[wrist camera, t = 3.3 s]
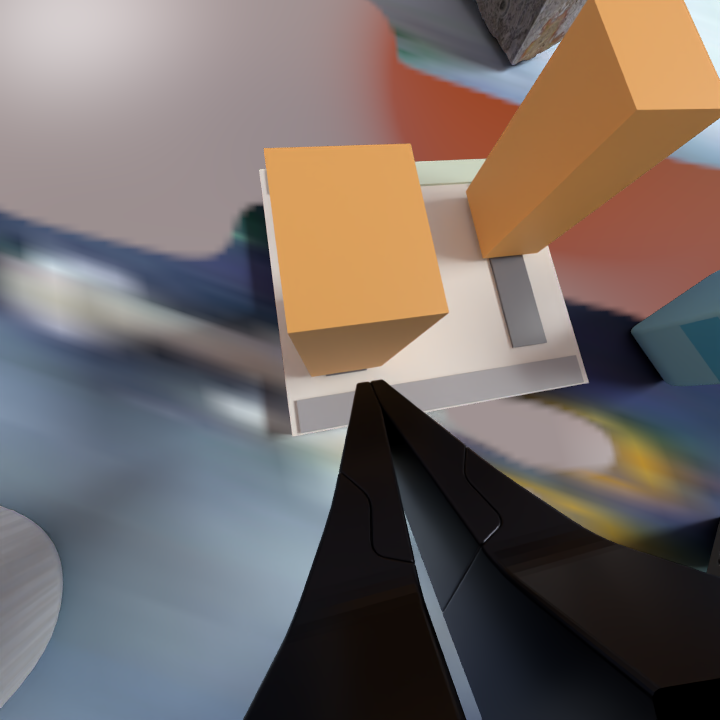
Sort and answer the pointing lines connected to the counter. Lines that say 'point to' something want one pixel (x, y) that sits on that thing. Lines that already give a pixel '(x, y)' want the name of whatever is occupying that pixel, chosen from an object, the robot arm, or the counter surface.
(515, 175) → the tab
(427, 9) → the counter surface
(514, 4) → the geological specimen
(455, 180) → the dip bank
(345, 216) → the orange rectangular block
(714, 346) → the data package
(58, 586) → the ramekin
